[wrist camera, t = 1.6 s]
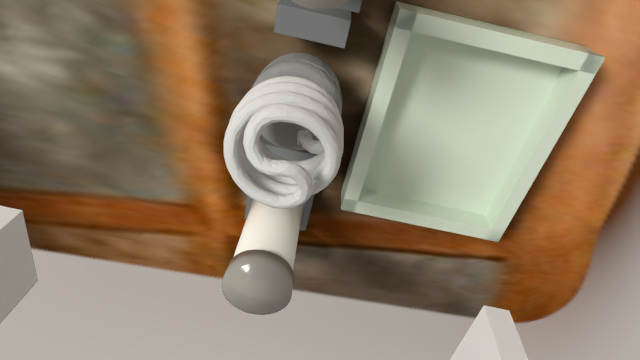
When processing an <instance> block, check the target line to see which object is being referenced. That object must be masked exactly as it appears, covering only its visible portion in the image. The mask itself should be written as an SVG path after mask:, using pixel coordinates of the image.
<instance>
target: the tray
mask: <svg viewBox="0 0 640 360" xmlns="http://www.w3.org/2000/svg"><path fill="white" fill-rule="evenodd" d="M604 59H605V57H604V56H602V55H600V54H598V53H596V52H595V51H593V50H591V49H589V48H587V47H586V46H583V45H578V44H574V43H570V42H566V41H562V40H557V39H553V38H549V37H545V36H541V35H537V34H532V33H528V32H524V31H520V30H516V29H511V28H507V27H503V26H499V25H495V24H490V23H486V22H482V21H478V20H474V19H470V18H465V17H461V16H457V15H453V14H449V13H444V12H440V11H436V10H432V9H428V8H423V7H419V6H415V5H411V4H407V3H402V2H398V1H396V2H395V5H394V9H393V12H392V16H391V19H390V23H389V26H388V30H387V33H386V37H385V40H384V44H383V47H382V51H381V54H380V58H379V61H378V65H377V68H376V72H375V75H374V79H373V82H372V86H371V89H370V93H369V96H368V100H367V103H366V107H365V110H364V113H363V117H362V120H361V124H360V127H359V131H358V134H357V138H356V141H355V145H354V148H353V152H352V155H351V159H350V162H349V166H348V169H347V173H346V176H345V180H344V183H343V187H342V190H341V210H346V211H351V212H356V213H361V214H365V215H370V216H375V217H380V218H385V219H390V220H394V221H399V222H404V223H409V224H414V225H419V226H423V227H428V228H433V229H438V230H443V231H448V232H452V233H457V234H462V235H467V236H472V237H477V238H481V239H486V240H491V241H496V242H499V240H500V238H501V237H502V235H503V233H504V232H505V230H506V228H507V226H508V225H509V223H510V221H511V220H512V218H513V216H514V214H515V213H516V211H517V209H518V207H519V206H520V204H521V202H522V201H523V199H524V197H525V195H526V194H527V192H528V190H529V188H530V187H531V185H532V183H533V182H534V180H535V178H536V176H537V175H538V173H539V171H540V170H541V168H542V166H543V164H544V163H545V161H546V159H547V157H548V156H549V154H550V152H551V151H552V149H553V147H554V145H555V144H556V142H557V140H558V138H559V137H560V135H561V133H562V132H563V130H564V128H565V126H566V125H567V123H568V121H569V120H570V118H571V116H572V114H573V113H574V111H575V109H576V107H577V106H578V104H579V102H580V101H581V99H582V97H583V95H584V94H585V92H586V90H587V89H588V87H589V85H590V83H591V82H592V80H593V78H594V76H595V75H596V73H597V71H598V70H599V68H600V66H601V64H602V63H603V61H604Z"/></svg>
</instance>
